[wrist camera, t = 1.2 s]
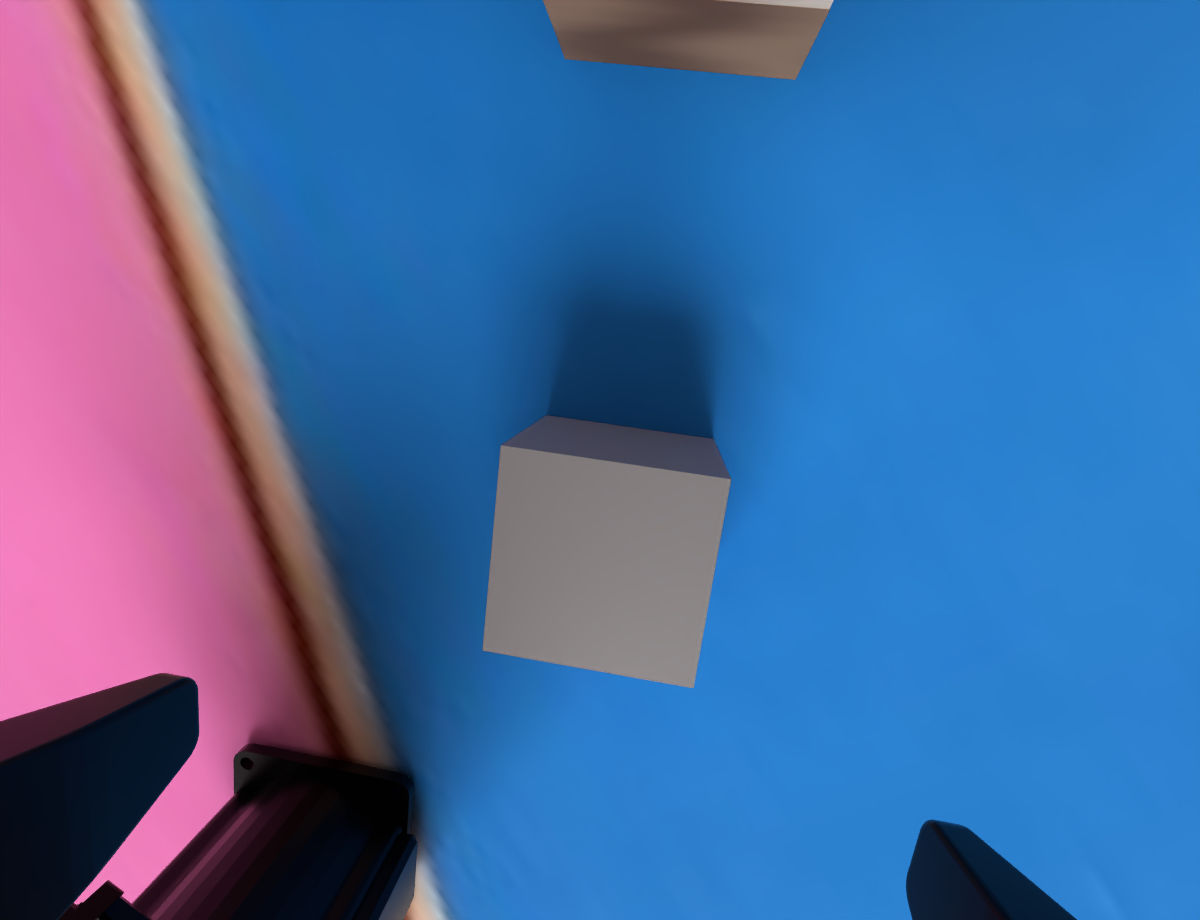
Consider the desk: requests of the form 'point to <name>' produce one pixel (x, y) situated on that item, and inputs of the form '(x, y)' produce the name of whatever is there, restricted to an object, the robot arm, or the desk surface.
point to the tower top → (791, 3)
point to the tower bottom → (688, 34)
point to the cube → (605, 548)
